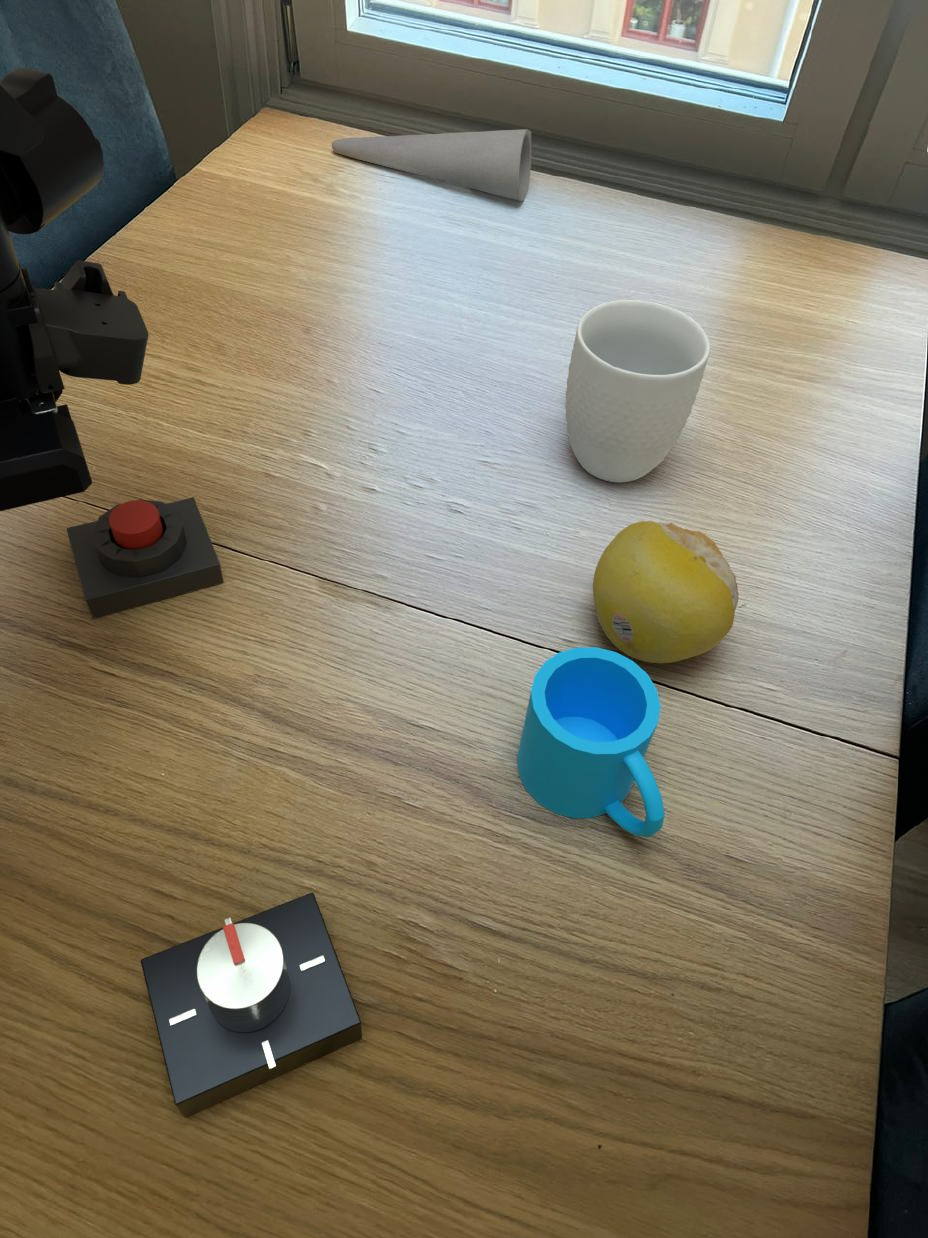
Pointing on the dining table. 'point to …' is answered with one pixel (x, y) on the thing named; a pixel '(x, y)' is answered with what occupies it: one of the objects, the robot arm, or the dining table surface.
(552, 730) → the mug
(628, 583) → the fruit
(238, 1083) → the dial panel
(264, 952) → the dial
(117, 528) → the button
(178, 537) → the button block
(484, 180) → the gray cone
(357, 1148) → the dining table surface
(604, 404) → the mug
